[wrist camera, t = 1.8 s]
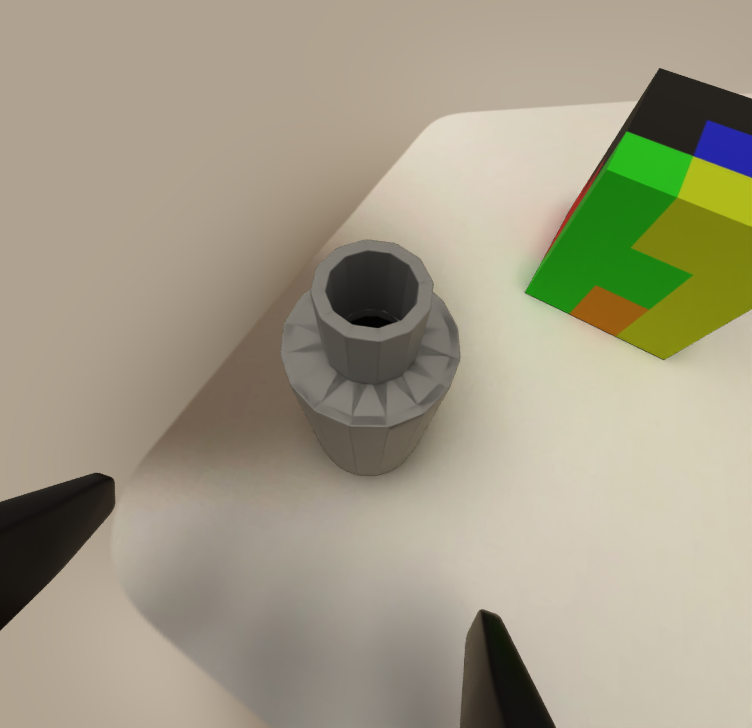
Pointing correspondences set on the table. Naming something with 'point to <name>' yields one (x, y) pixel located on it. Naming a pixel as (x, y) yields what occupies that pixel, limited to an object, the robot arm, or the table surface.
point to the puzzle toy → (662, 222)
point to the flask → (370, 354)
